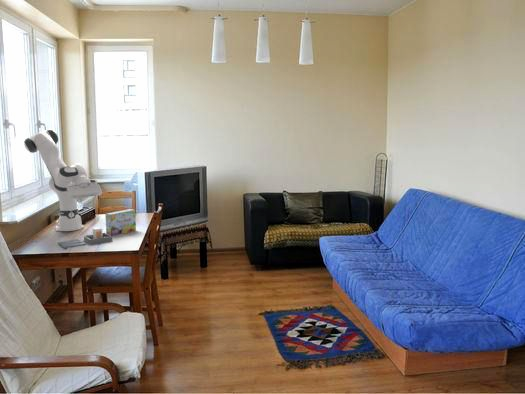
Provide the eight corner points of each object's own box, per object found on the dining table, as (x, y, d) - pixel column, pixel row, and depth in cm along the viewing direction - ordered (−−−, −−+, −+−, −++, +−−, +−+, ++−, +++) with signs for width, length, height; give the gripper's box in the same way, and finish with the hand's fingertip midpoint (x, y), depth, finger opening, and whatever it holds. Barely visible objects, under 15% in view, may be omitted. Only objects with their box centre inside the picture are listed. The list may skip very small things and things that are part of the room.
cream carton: (93, 240, 284) (92, 228, 283) (100, 239, 286) (99, 227, 285) (95, 242, 280) (94, 229, 279) (103, 241, 283) (102, 228, 281)
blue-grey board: (58, 243, 280) (58, 242, 280) (78, 240, 287) (78, 239, 287) (64, 249, 267) (64, 247, 267) (85, 245, 274) (85, 244, 274)
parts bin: (84, 241, 285) (83, 235, 284) (105, 238, 293) (105, 232, 292) (90, 245, 274) (90, 239, 274) (112, 242, 282) (112, 236, 281)
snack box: (111, 237, 296) (110, 214, 294) (106, 236, 299) (104, 213, 297) (136, 230, 314) (135, 209, 311) (131, 229, 317) (129, 208, 314)
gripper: (66, 183, 288) (71, 200, 281) (99, 180, 299) (104, 196, 293) (65, 189, 292) (70, 206, 286) (97, 186, 304) (103, 202, 297)
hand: (88, 201), depth 289 cm, fingers open, 8 cm apart
